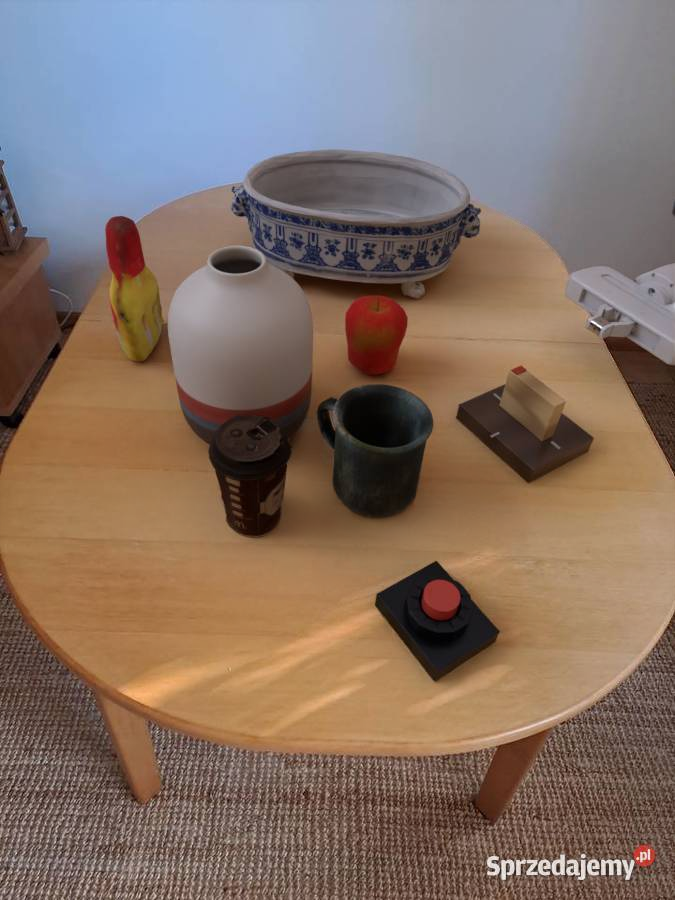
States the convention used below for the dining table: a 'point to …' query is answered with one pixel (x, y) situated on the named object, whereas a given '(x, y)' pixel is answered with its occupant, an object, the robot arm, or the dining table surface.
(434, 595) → the red button
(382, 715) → the dining table surface
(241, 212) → the decorative bowl
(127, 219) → the bottle
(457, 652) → the button box
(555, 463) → the dark flat block
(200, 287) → the vase
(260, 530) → the coffee cup
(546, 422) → the wooden block
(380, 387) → the mug
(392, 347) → the apple
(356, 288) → the dining table surface
